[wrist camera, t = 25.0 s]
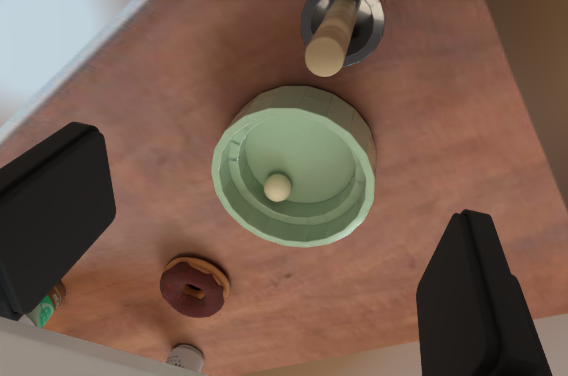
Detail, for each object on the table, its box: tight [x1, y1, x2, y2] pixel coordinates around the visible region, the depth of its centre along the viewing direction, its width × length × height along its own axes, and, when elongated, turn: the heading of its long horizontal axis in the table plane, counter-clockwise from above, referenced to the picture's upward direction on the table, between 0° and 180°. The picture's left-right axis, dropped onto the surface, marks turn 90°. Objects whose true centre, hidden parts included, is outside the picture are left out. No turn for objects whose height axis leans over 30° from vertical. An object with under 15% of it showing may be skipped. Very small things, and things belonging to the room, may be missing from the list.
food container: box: [18, 281, 66, 328], centre depth 63 cm, size 12×6×10 cm, turn 176°
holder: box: [301, 0, 385, 67], centre depth 31 cm, size 6×6×6 cm
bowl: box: [211, 86, 376, 247], centre depth 40 cm, size 16×16×6 cm
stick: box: [305, 0, 361, 77], centre depth 26 cm, size 2×2×16 cm
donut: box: [160, 257, 230, 318], centre depth 56 cm, size 10×10×4 cm
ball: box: [264, 174, 291, 202], centre depth 43 cm, size 3×3×3 cm
